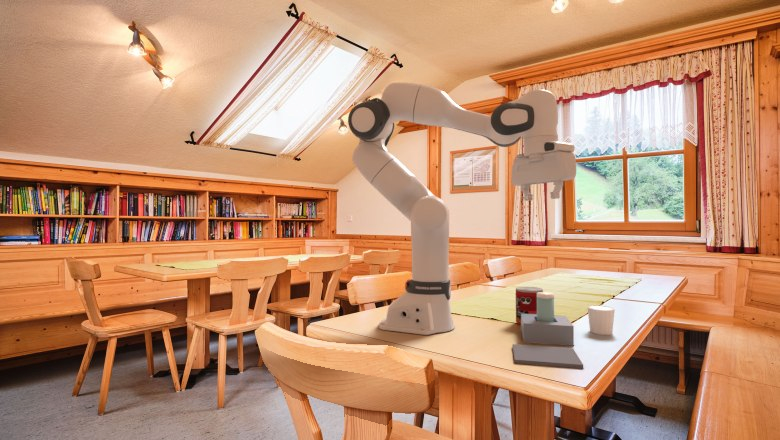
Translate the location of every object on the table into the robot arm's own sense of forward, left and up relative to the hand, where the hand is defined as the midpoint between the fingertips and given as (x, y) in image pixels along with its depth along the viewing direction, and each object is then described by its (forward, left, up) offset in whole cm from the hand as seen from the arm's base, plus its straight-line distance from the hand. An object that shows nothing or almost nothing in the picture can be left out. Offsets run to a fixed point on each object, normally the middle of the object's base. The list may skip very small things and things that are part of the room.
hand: (541, 199), depth 113 cm
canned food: (-2, +13, -38) cm, 40 cm away
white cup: (+17, +8, -38) cm, 42 cm away
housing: (+1, -2, -38) cm, 38 cm away
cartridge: (+1, -2, -38) cm, 38 cm away
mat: (-1, -19, -38) cm, 42 cm away
